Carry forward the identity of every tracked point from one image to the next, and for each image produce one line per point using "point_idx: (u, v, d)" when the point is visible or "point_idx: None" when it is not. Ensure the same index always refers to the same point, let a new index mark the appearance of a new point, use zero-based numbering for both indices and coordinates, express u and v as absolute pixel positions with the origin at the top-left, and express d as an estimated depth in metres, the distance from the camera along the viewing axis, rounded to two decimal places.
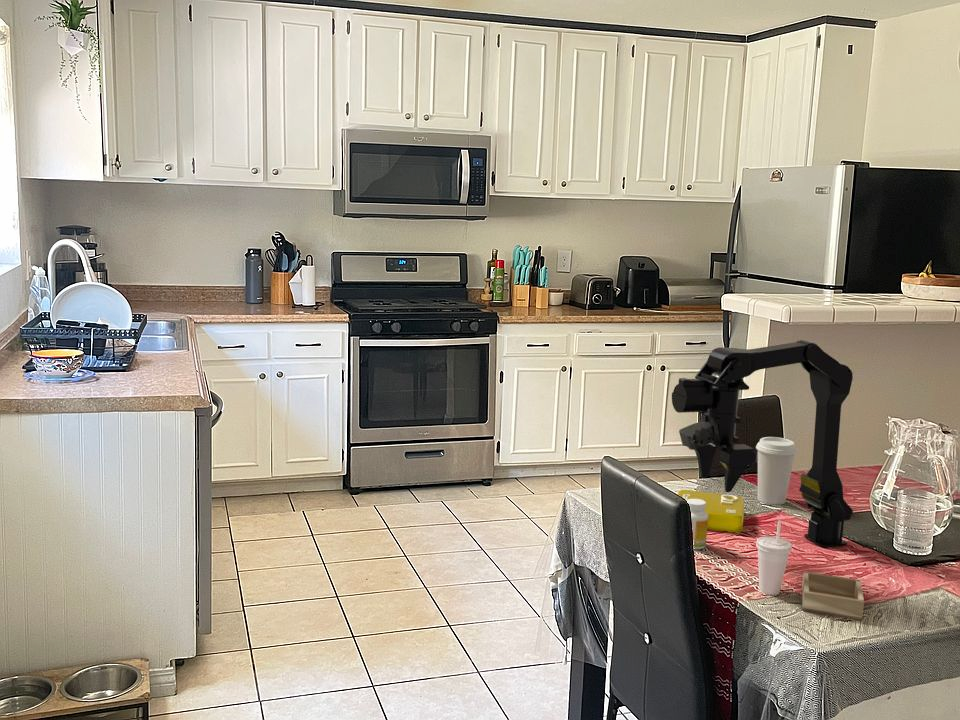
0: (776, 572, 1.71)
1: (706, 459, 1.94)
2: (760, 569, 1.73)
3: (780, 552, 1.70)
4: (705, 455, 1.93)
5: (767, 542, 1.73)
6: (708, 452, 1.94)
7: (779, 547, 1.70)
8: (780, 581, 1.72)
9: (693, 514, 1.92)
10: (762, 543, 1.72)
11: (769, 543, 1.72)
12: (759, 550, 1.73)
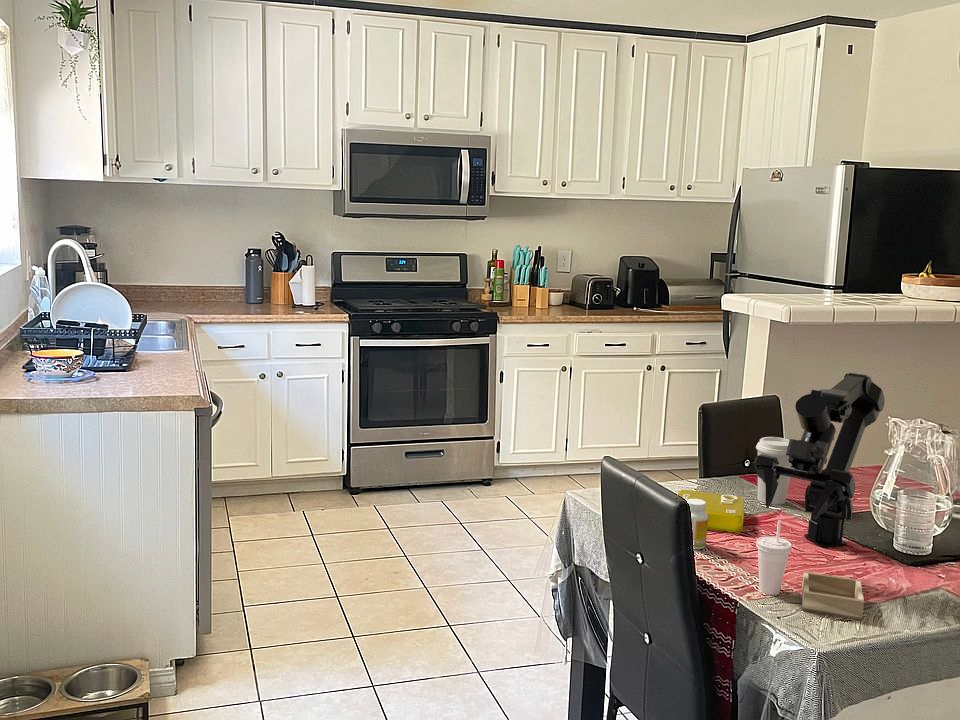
0: (776, 572, 1.71)
1: (773, 490, 1.83)
2: (760, 569, 1.73)
3: (780, 552, 1.70)
4: (773, 485, 1.83)
5: (767, 542, 1.73)
6: (774, 485, 1.84)
7: (779, 547, 1.70)
8: (780, 581, 1.72)
9: (692, 514, 1.92)
10: (762, 543, 1.72)
11: (769, 543, 1.72)
12: (759, 550, 1.73)
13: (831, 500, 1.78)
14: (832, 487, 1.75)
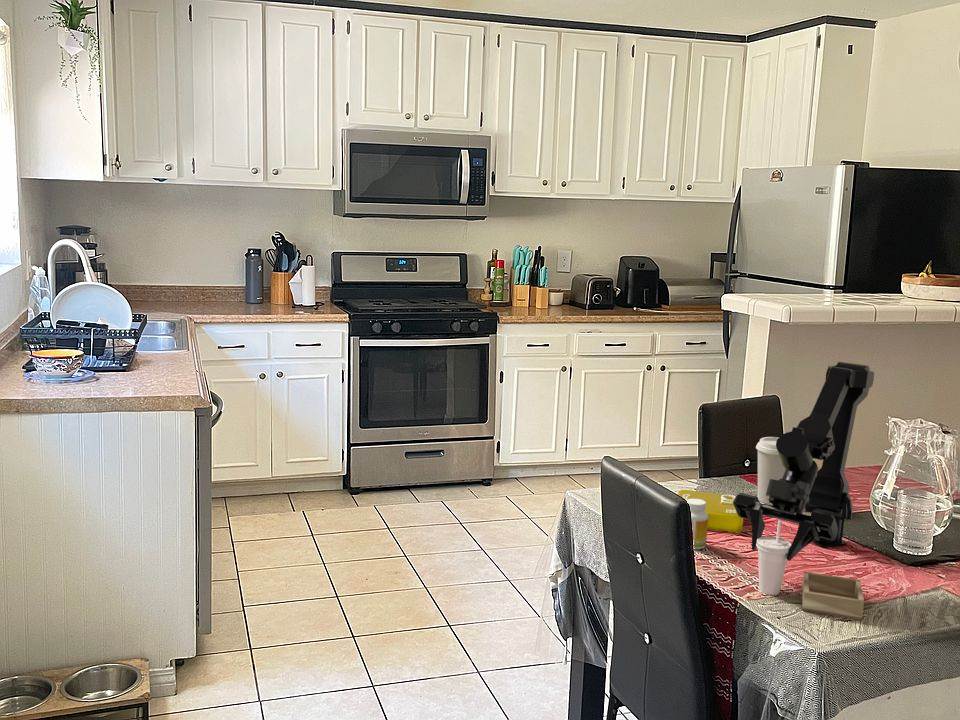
0: (776, 572, 1.71)
1: (759, 532, 1.76)
2: (760, 569, 1.73)
3: (780, 552, 1.70)
4: (760, 528, 1.76)
5: (767, 542, 1.73)
6: (761, 527, 1.77)
7: (779, 547, 1.70)
8: (780, 581, 1.72)
9: (692, 514, 1.92)
10: (762, 543, 1.72)
11: (769, 543, 1.72)
12: (759, 550, 1.73)
13: (806, 541, 1.72)
14: (806, 528, 1.70)
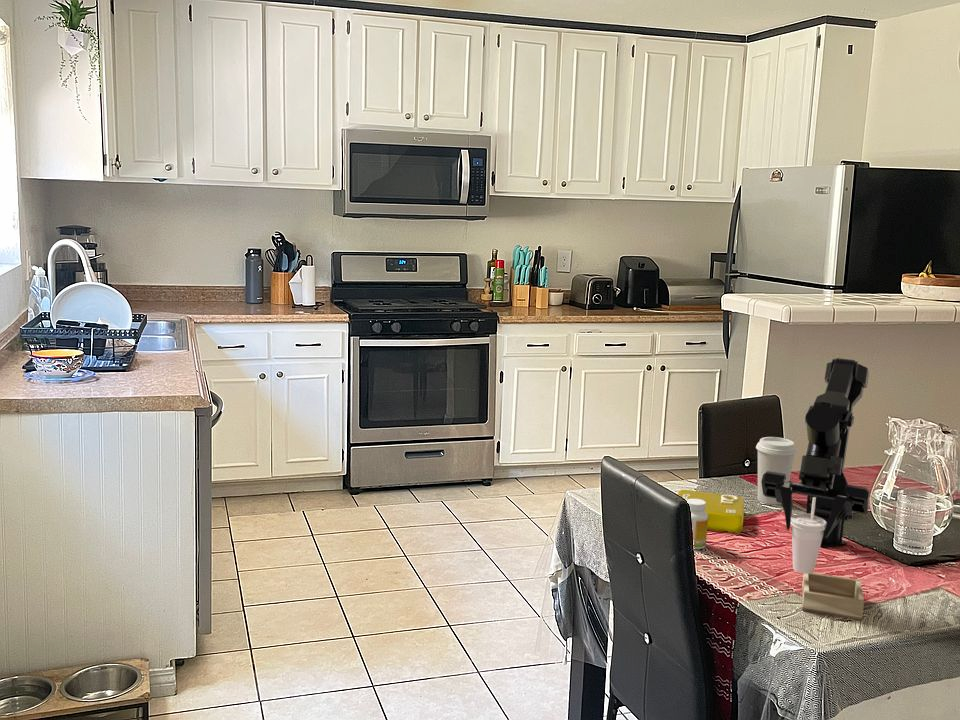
0: (813, 550, 1.68)
1: None
2: (796, 548, 1.69)
3: (818, 530, 1.66)
4: (791, 506, 1.72)
5: (802, 520, 1.68)
6: (791, 504, 1.73)
7: (817, 525, 1.67)
8: (816, 559, 1.69)
9: (692, 514, 1.92)
10: (798, 521, 1.68)
11: (805, 521, 1.68)
12: (795, 529, 1.68)
13: (839, 516, 1.69)
14: (842, 503, 1.67)
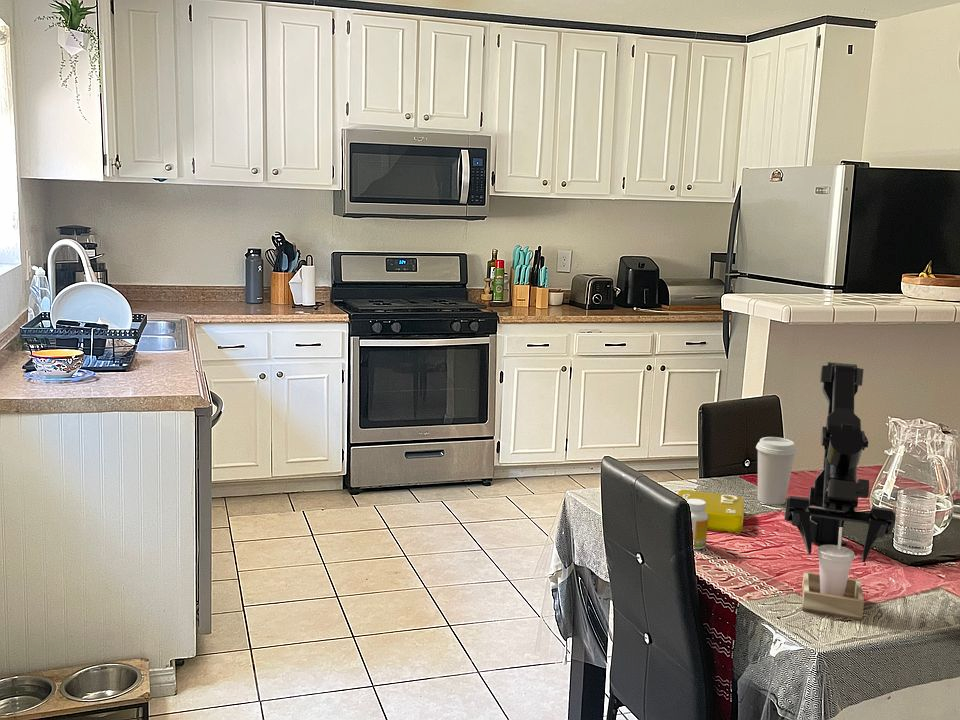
0: (843, 581, 1.67)
1: None
2: (825, 580, 1.68)
3: (848, 560, 1.66)
4: None
5: (831, 551, 1.68)
6: None
7: (846, 555, 1.66)
8: (844, 589, 1.68)
9: (692, 514, 1.92)
10: (827, 553, 1.67)
11: (833, 552, 1.67)
12: (824, 560, 1.67)
13: None
14: (878, 527, 1.66)
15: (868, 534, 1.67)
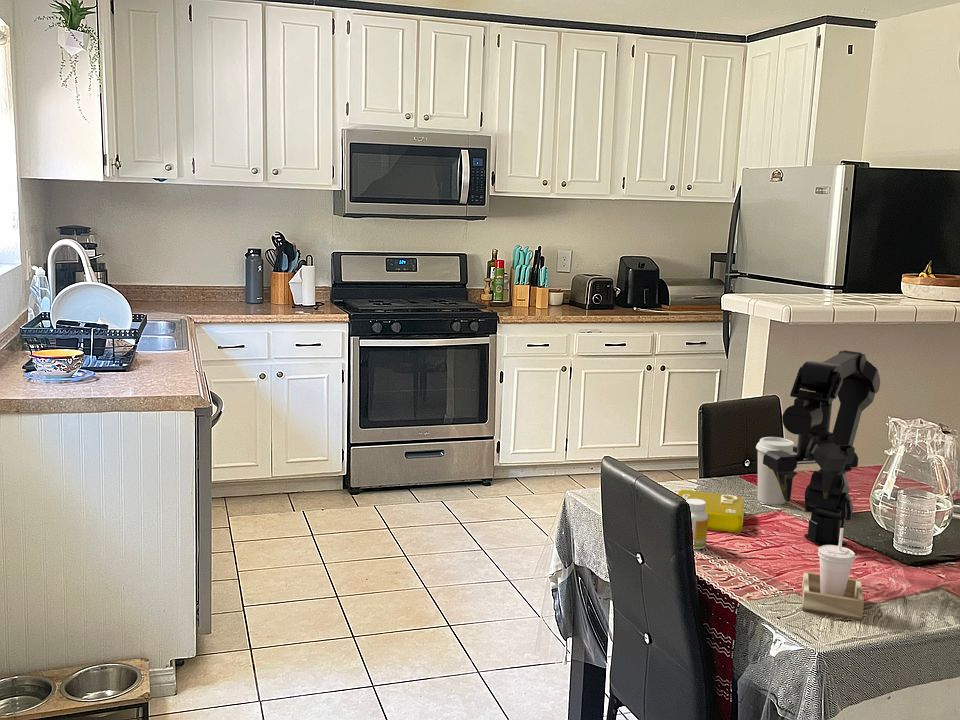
0: (843, 582, 1.67)
1: None
2: (826, 580, 1.68)
3: (848, 561, 1.66)
4: None
5: (831, 552, 1.67)
6: None
7: (847, 556, 1.66)
8: None
9: (692, 514, 1.92)
10: (828, 554, 1.67)
11: (834, 553, 1.67)
12: (825, 561, 1.67)
13: None
14: (844, 472, 1.86)
15: (834, 478, 1.87)
